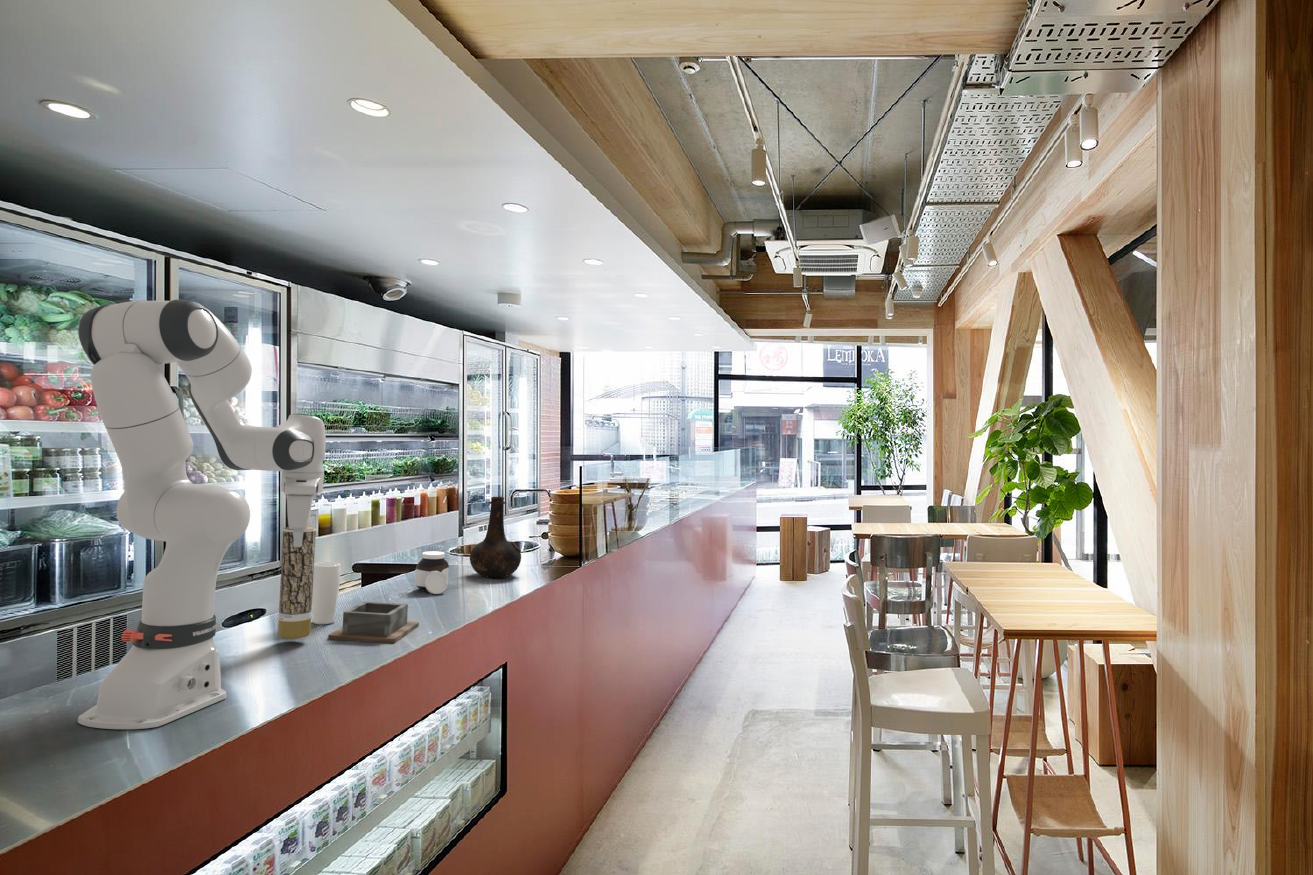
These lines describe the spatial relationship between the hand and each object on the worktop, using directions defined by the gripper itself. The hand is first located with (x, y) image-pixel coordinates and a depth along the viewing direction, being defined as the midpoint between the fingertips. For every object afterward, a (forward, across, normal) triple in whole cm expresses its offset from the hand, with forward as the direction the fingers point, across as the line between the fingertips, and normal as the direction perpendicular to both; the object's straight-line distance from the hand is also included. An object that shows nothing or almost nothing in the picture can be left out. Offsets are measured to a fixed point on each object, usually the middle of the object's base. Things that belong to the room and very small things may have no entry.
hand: (298, 544), depth 169 cm
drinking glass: (+23, -18, +6) cm, 29 cm away
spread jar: (+22, -51, +37) cm, 67 cm away
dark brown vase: (+22, -72, +60) cm, 96 cm away
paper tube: (+22, 0, 0) cm, 22 cm away
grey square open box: (+23, -5, +18) cm, 29 cm away
